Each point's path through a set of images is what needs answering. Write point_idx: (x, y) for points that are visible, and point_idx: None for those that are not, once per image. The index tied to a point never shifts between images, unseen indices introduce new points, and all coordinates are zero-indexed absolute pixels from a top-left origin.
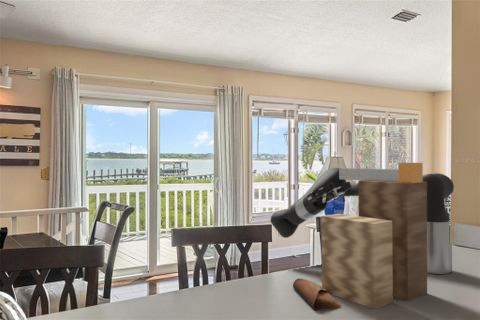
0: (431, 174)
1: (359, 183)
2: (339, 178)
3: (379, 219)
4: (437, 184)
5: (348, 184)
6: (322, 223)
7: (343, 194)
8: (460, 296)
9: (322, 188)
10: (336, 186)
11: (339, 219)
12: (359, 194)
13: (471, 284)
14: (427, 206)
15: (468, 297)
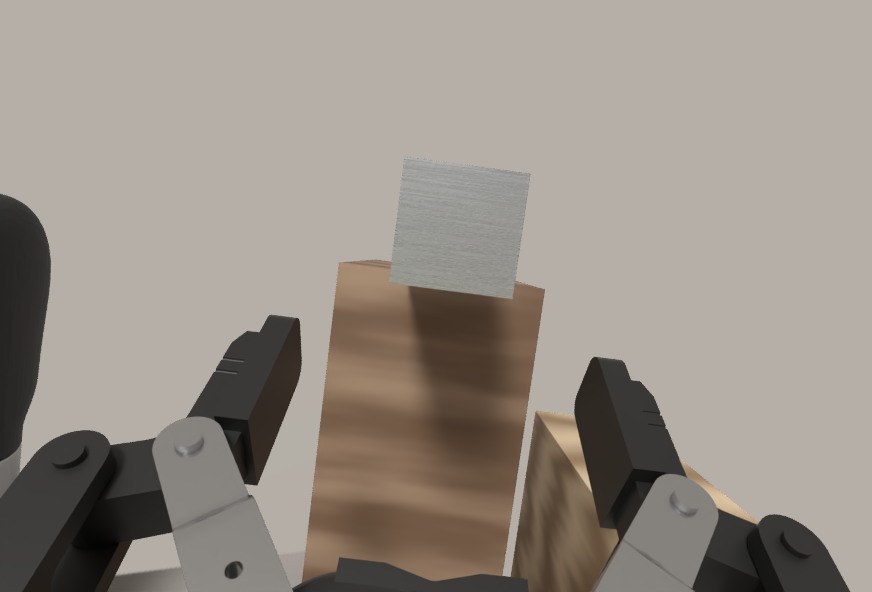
0: (8, 196)
1: (540, 304)
2: (512, 291)
3: (555, 427)
4: (47, 252)
5: (295, 350)
6: None
7: (98, 568)
8: (295, 575)
9: (688, 489)
10: None
11: (720, 495)
12: (531, 370)
13: (138, 579)
14: (3, 379)
15: (291, 563)
